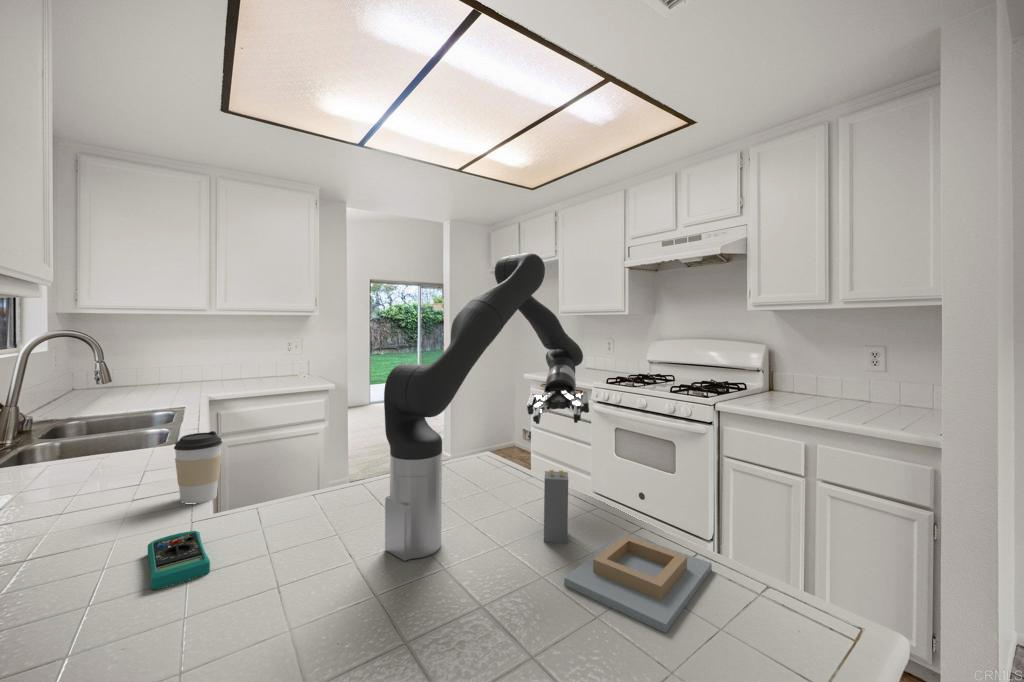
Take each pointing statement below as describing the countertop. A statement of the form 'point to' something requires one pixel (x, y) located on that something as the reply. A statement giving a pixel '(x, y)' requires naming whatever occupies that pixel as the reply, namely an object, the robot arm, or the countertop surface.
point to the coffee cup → (198, 466)
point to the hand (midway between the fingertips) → (556, 420)
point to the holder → (640, 580)
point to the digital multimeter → (177, 559)
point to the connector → (556, 507)
